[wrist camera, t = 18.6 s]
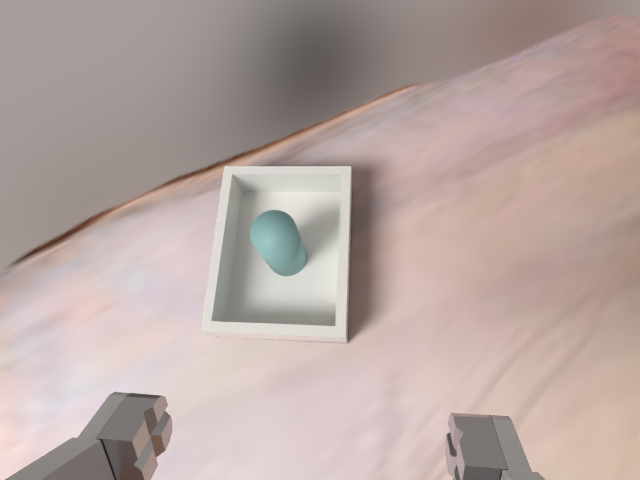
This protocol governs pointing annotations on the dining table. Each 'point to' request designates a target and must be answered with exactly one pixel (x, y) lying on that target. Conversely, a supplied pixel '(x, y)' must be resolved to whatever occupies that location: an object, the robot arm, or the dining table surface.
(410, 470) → the dining table surface
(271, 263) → the teal cylinder
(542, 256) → the dining table surface
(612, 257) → the dining table surface
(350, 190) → the tote
